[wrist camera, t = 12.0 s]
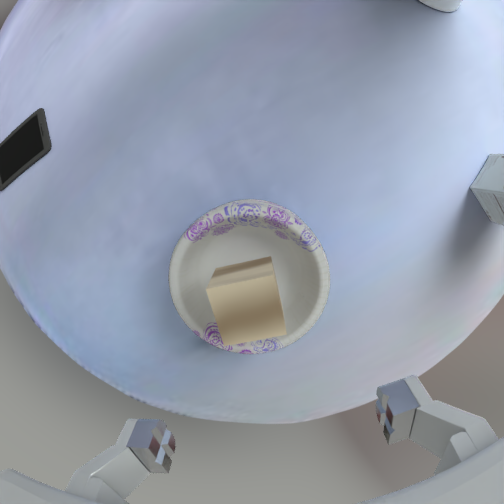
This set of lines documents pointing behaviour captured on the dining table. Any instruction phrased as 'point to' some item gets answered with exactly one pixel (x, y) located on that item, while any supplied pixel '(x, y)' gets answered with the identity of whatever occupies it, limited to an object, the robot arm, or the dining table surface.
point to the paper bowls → (246, 249)
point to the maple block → (246, 302)
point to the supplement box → (491, 188)
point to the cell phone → (24, 147)
